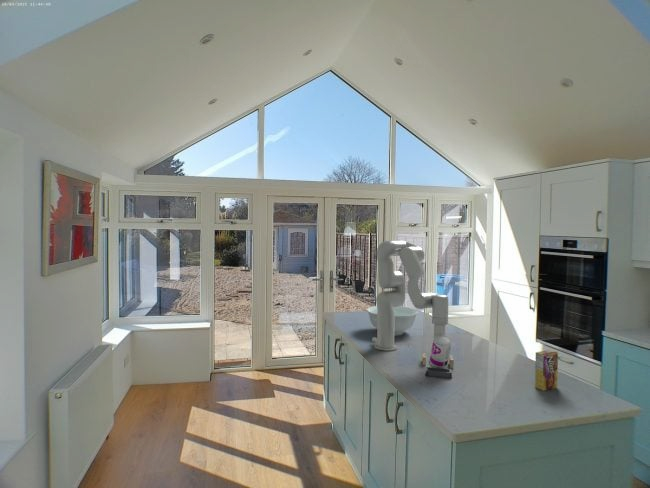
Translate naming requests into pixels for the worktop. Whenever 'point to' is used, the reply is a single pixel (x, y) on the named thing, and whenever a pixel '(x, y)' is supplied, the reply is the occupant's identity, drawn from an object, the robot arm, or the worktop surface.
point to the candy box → (546, 370)
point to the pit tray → (438, 372)
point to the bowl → (396, 318)
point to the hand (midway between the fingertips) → (439, 357)
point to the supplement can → (440, 352)
